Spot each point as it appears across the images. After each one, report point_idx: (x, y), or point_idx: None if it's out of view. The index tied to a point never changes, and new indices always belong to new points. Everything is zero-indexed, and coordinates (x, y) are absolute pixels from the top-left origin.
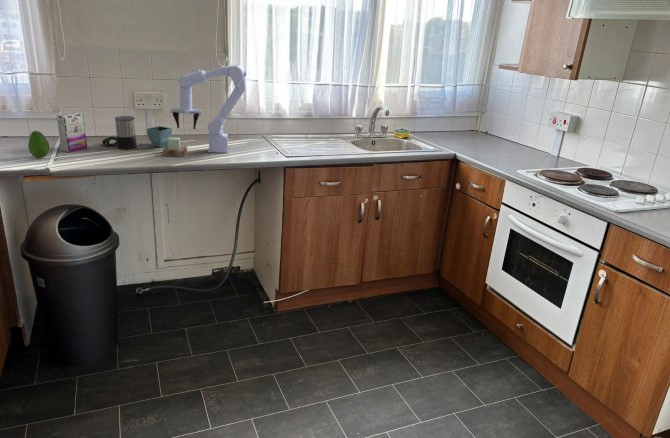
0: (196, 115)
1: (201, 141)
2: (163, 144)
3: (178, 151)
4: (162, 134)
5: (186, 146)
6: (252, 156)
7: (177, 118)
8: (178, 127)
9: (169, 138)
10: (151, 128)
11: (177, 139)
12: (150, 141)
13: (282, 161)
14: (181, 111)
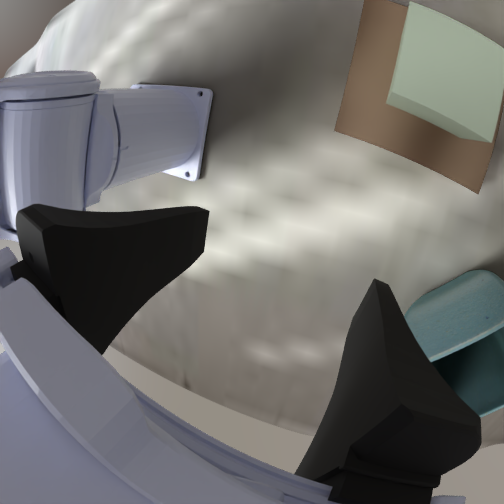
0: (23, 222)
1: (225, 328)
2: (457, 280)
3: (407, 8)
4: (489, 304)
5: (337, 128)
6: (80, 53)
7: (393, 361)
8: (377, 281)
9: (497, 78)
10: (495, 404)
11: (424, 13)
12: (501, 330)
13: (48, 25)
14: (221, 484)
